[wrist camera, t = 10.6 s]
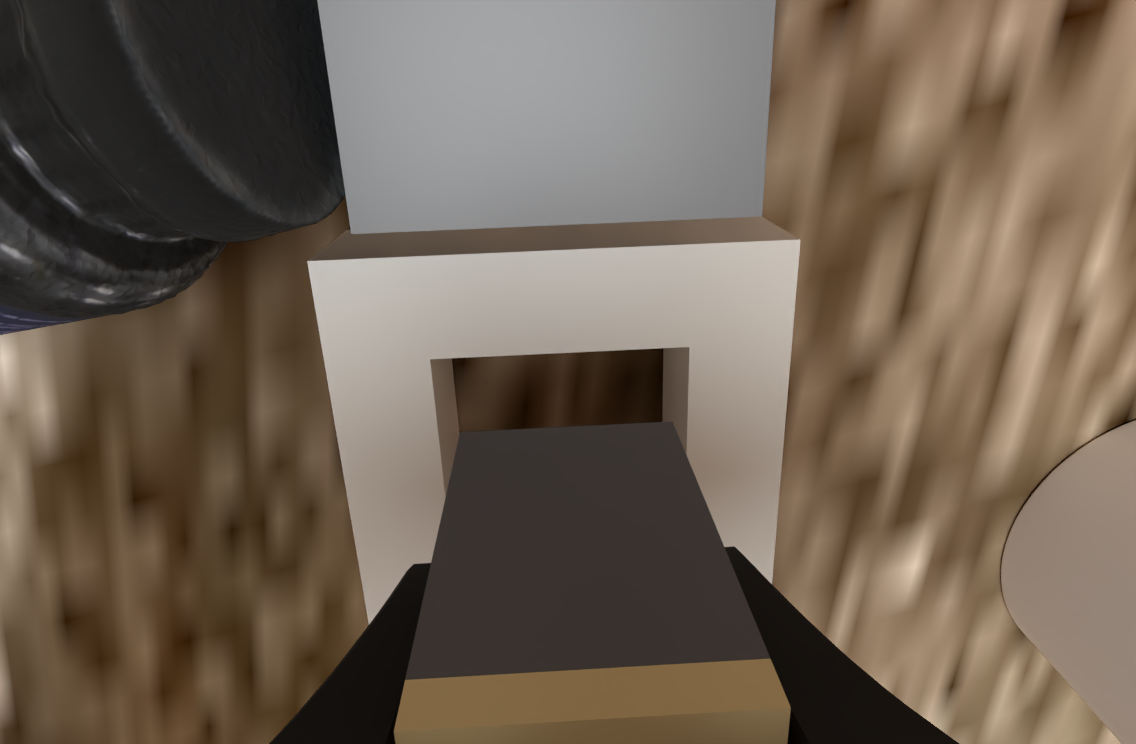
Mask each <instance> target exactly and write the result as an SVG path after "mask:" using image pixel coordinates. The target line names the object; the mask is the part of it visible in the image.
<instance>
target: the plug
mask: <svg viewBox="0 0 1136 744" xmlns="http://www.w3.org/2000/svg"><path fill="white" fill-rule="evenodd" d="M790 711H791V707H790V704H789V702H788V700H787V697H786V695H785V692H784V690H783V688H782V685H781V683H780V680H779V678H778V675H777V673H776V671H775V668H774V666H773V663H772V661H771V658H770V656H769V654H768V651H767V649H766V646H765V644H764V642H763V639H762V637H761V634H760V632H759V629H758V627H757V625H756V622H755V620H754V617H753V615H752V613H751V610H750V608H749V605H748V603H747V600H746V598H745V596H744V593H743V591H742V588H741V586H740V583H739V581H738V579H737V576H736V574H735V571H734V569H733V567H732V564H731V562H730V559H729V557H728V554H727V552H726V550H725V547H724V545H723V542H722V540H721V538H720V535H719V533H718V530H717V528H716V525H715V523H714V521H713V518H712V516H711V513H710V511H709V509H708V506H707V504H706V501H705V499H704V496H703V494H702V492H701V489H700V487H699V484H698V482H697V479H696V477H695V475H694V472H693V470H692V467H691V465H690V463H689V460H688V458H687V455H686V453H685V450H684V448H683V446H682V443H681V441H680V438H679V436H678V434H677V431H676V429H675V426H674V424H673V421H671V422H651V423H631V424H611V425H591V426H571V427H551V428H531V429H511V430H491V431H471V432H460V435H459V439H458V444H457V448H456V453H455V457H454V462H453V466H452V471H451V475H450V480H449V484H448V489H447V493H446V498H445V502H444V507H443V511H442V516H441V520H440V525H439V529H438V534H437V538H436V543H435V547H434V552H433V556H432V561H431V566H430V570H429V575H428V579H427V584H426V588H425V593H424V597H423V602H422V606H421V611H420V615H419V620H418V624H417V629H416V633H415V638H414V642H413V647H412V651H411V656H410V660H409V665H408V669H407V674H406V678H405V683H404V687H403V692H402V697H401V701H400V706H399V710H398V715H397V719H396V724H395V728H394V737H395V743H396V744H787V742H788V732H789V722H790Z"/></svg>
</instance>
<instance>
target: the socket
mask: <svg viewBox="0 0 1136 744" xmlns="http://www.w3.org/2000/svg"><path fill="white" fill-rule="evenodd" d="M800 240H801V239H799V238H797V237H795V236H794V235H792V234H790V233H789V232H787V231H785V230H784V229H782V228H780V227H779V226H777V225H775V224H773V223H772V222H770V221H768V220H767V219H765V218H763V217H762V216H761V217H738V218H715V219H692V220H668V221H645V222H622V223H599V224H575V225H552V226H529V227H505V228H482V229H459V230H436V231H412V232H389V233H366V234H351V230H346V231H345V232H344V233H342V234H341V235H340V236H338V237H337V238H336V239H335V240H333V241H332V242H331V243H330V244H328V245H327V246H326V247H325V248H323V249H322V250H321V251H319V252H318V253H317V254H316V255H314V256H313V257H312V258H311V259H309V260H308V261H307V263H308V269H309V275H310V281H311V287H312V292H313V298H314V304H315V310H316V316H317V322H318V328H319V334H320V340H321V345H322V351H323V357H324V363H325V369H326V375H327V381H328V387H329V393H330V398H331V404H332V410H333V416H334V422H335V428H336V434H337V440H338V446H339V451H340V457H341V463H342V469H343V475H344V481H345V487H346V493H347V499H348V504H349V510H350V516H351V522H352V528H353V534H354V540H355V546H356V552H357V557H358V563H359V569H360V575H361V581H362V587H363V593H364V599H365V605H366V610H367V616H368V622H369V624H370V623H371V622H372V620H373V619H374V617H375V616H376V615H377V613H378V612H379V610H380V609H381V608H382V606H383V605H384V603H385V602H386V601H387V599H388V598H389V596H390V595H391V593H392V592H393V590H394V589H395V588H396V586H397V585H398V583H399V582H400V580H401V579H402V577H403V576H404V574H405V573H406V571H407V570H408V569H409V568H410V567H411V566H412V565H413V564H422V563H431V561H432V556H433V552H434V547H435V543H436V538H437V534H438V529H439V525H440V520H441V516H442V511H443V507H444V502H445V498H446V493H447V489H448V484H449V480H450V475H451V471H452V466H453V462H454V457H455V453H456V448H457V444H458V439H459V425H458V415H457V405H456V395H455V385H454V375H453V365H452V358H469V357H490V356H511V355H532V354H553V353H574V352H595V351H616V350H637V349H658V348H663V408H662V422H671V421H673V424H674V426H675V429H676V431H677V434H678V436H679V438H680V441H681V443H682V446H683V448H684V450H685V453H686V455H687V458H688V460H689V463H690V465H691V467H692V470H693V472H694V475H695V477H696V479H697V482H698V484H699V487H700V489H701V492H702V494H703V496H704V499H705V501H706V504H707V506H708V509H709V511H710V513H711V516H712V518H713V521H714V523H715V525H716V528H717V530H718V533H719V535H720V538H721V540H722V542H723V545H724V547H733V546H735V547H736V548H737V549H738V550H739V551H740V552H741V553H742V554H743V555H744V556H745V557H746V558H747V559H748V560H749V561H750V562H751V563H752V564H753V565H754V566H755V567H756V568H757V569H758V570H759V571H760V573H761V574H762V575H763V576H764V577H765V578H766V579H767V580H768V581H769V582H770V583H771V584H772V577H773V565H774V553H775V540H776V528H777V516H778V504H779V492H780V480H781V468H782V456H783V444H784V432H785V420H786V408H787V396H788V384H789V372H790V360H791V348H792V336H793V324H794V312H795V300H796V288H797V276H798V264H799V252H800Z"/></svg>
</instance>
